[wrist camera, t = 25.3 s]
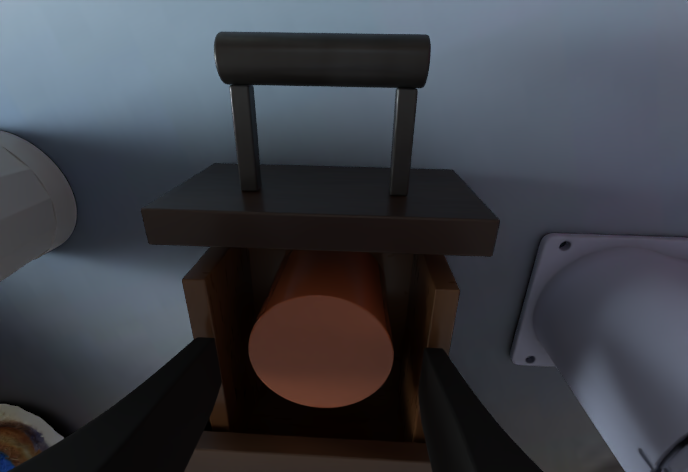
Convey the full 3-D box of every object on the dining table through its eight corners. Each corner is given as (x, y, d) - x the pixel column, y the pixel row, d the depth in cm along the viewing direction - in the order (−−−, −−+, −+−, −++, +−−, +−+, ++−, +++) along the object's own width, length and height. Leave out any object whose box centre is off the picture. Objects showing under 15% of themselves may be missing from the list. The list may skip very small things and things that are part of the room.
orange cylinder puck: (390, 239, 16) (400, 298, 11) (382, 334, 18) (388, 412, 14) (272, 235, 16) (240, 292, 12) (279, 329, 18) (254, 405, 14)
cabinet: (231, 320, 20) (164, 447, 13) (436, 329, 20) (476, 465, 13) (253, 471, 26) (213, 615, 19) (413, 480, 26) (431, 631, 19)
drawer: (197, 41, 14) (94, 21, 8) (471, 44, 13) (543, 27, 8) (243, 375, 21) (202, 477, 16) (422, 384, 20) (442, 491, 15)
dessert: (-19, 391, 22) (-46, 503, 19) (100, 386, 27) (95, 475, 24) (-53, 438, 25) (-81, 541, 22) (59, 426, 30) (50, 510, 27)
